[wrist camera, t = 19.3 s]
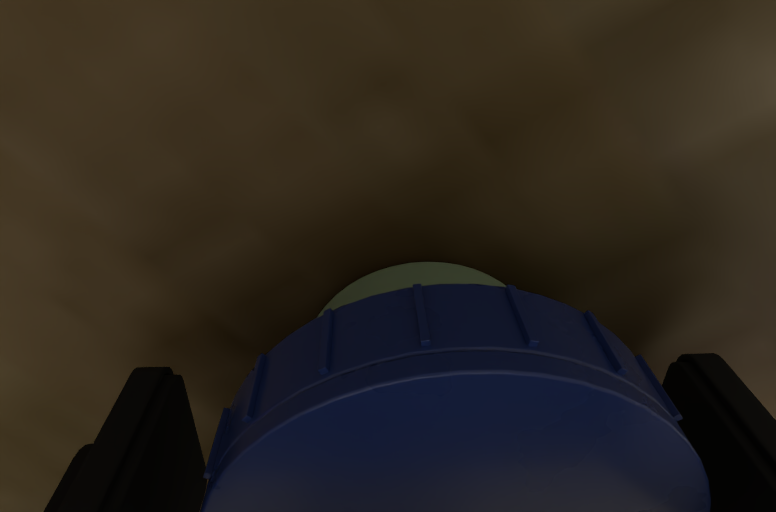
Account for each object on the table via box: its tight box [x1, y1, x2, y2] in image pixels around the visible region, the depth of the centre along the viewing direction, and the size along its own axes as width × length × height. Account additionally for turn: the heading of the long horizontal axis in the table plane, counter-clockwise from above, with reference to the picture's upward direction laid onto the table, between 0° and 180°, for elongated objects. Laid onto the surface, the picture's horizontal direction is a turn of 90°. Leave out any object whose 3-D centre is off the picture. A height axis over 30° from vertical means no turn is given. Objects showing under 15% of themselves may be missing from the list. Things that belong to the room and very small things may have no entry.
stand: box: [317, 262, 506, 318], centre depth 9 cm, size 5×5×4 cm
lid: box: [200, 284, 711, 512], centre depth 8 cm, size 7×7×2 cm
